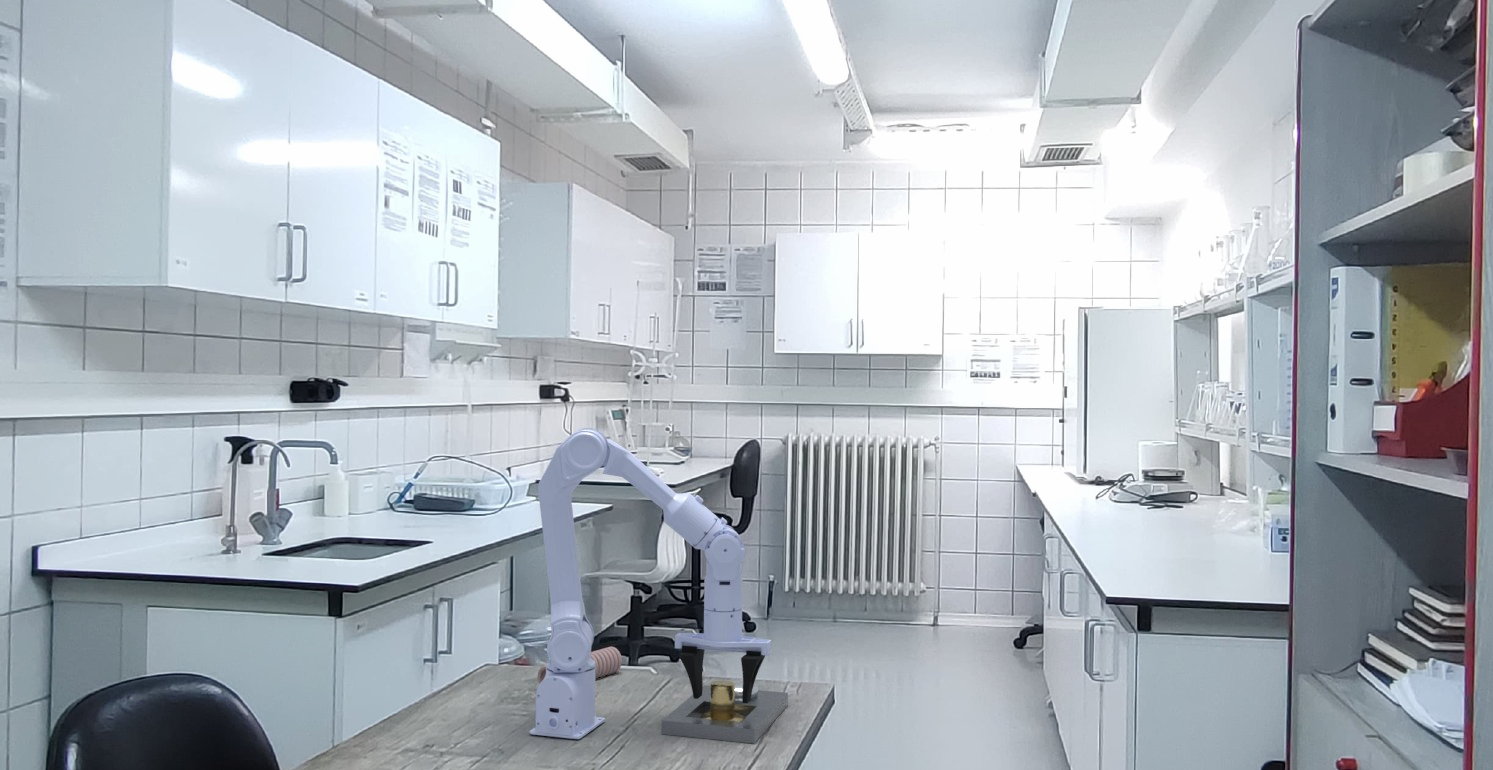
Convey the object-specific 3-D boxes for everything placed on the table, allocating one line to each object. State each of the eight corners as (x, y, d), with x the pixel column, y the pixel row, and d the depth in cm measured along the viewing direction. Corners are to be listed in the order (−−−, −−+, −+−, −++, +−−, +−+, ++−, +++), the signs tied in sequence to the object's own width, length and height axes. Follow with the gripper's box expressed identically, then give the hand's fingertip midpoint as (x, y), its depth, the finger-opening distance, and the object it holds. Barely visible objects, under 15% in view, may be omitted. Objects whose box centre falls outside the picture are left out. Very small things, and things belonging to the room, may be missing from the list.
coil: (554, 670, 179) (626, 649, 194) (534, 662, 182) (607, 642, 197) (552, 697, 180) (624, 675, 195) (532, 690, 182) (604, 668, 197)
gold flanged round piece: (737, 733, 161) (737, 691, 161) (694, 729, 162) (695, 687, 162) (748, 720, 167) (749, 680, 167) (707, 717, 169) (708, 676, 169)
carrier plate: (754, 743, 156) (754, 718, 156) (661, 734, 160) (661, 710, 160) (787, 705, 175) (788, 683, 175) (704, 697, 179) (704, 676, 179)
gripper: (776, 606, 167) (775, 696, 166) (685, 600, 170) (684, 688, 170) (764, 615, 160) (763, 709, 160) (670, 609, 164) (669, 700, 164)
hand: (722, 699), depth 165 cm, fingers open, 7 cm apart
